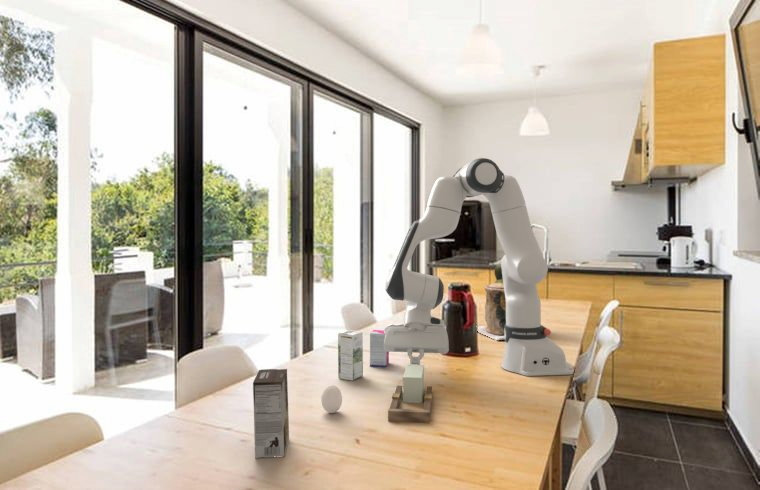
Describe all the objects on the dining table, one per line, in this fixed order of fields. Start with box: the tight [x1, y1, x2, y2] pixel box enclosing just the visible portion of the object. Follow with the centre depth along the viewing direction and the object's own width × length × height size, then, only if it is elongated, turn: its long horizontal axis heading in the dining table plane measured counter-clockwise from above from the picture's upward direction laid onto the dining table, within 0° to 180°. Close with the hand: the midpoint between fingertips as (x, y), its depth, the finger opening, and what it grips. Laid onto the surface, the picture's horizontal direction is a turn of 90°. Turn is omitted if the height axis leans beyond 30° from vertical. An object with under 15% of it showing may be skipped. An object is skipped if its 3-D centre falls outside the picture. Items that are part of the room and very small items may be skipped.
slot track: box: [387, 385, 433, 424], centre depth 128 cm, size 10×20×3 cm, turn 172°
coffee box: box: [252, 368, 290, 459], centre depth 105 cm, size 9×6×16 cm
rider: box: [402, 364, 425, 404], centre depth 136 cm, size 5×12×7 cm, turn 172°
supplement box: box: [369, 329, 390, 368], centre depth 167 cm, size 6×6×12 cm
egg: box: [320, 383, 343, 414], centre depth 124 cm, size 5×5×7 cm
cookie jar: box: [477, 263, 506, 341], centre depth 211 cm, size 25×25×32 cm
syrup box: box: [337, 329, 364, 382], centre depth 153 cm, size 6×6×14 cm
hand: (415, 363), depth 147 cm, fingers closed
